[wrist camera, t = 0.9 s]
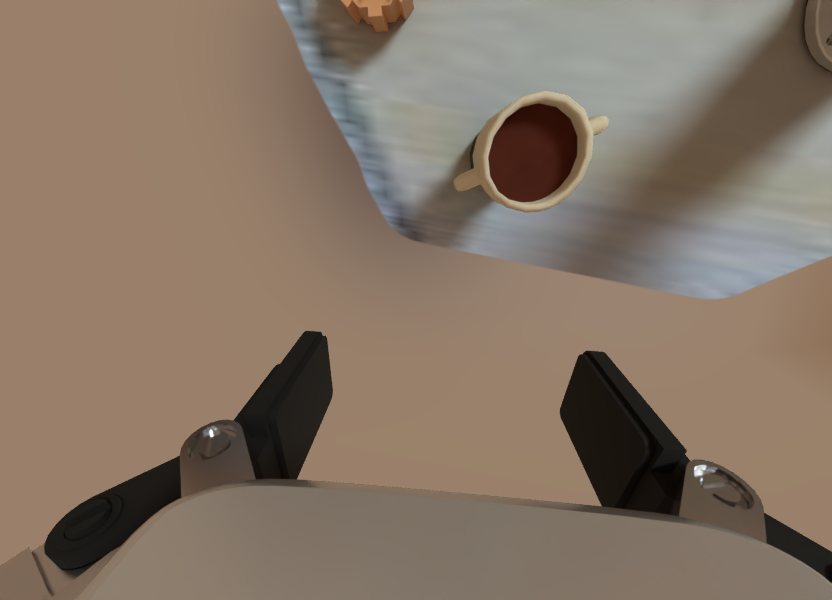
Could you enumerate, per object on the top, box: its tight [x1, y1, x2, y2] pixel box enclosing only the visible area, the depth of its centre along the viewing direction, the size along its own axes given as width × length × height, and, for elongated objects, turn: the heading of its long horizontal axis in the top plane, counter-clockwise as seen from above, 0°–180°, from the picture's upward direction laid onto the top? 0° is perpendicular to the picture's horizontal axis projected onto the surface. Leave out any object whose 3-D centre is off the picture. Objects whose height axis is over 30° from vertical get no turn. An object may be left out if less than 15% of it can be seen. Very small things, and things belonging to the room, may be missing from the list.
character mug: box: [454, 91, 609, 212], centre depth 25 cm, size 11×7×13 cm, turn 113°
